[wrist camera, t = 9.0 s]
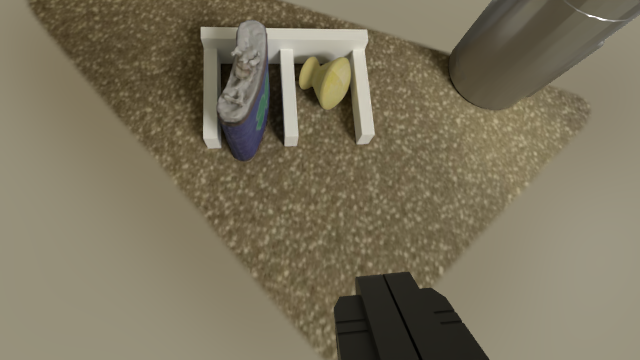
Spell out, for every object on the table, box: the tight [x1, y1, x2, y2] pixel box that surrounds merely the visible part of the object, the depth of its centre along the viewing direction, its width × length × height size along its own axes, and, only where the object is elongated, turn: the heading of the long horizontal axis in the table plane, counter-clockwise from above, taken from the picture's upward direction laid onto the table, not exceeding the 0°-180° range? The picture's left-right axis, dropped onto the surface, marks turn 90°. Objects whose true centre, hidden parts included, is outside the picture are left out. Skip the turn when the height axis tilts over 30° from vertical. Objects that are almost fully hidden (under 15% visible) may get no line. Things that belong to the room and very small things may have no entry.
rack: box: [201, 27, 375, 148], centre depth 34 cm, size 16×10×4 cm, turn 94°
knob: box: [299, 57, 351, 110], centre depth 35 cm, size 5×5×5 cm
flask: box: [216, 20, 270, 162], centre depth 30 cm, size 9×3×11 cm, turn 171°
